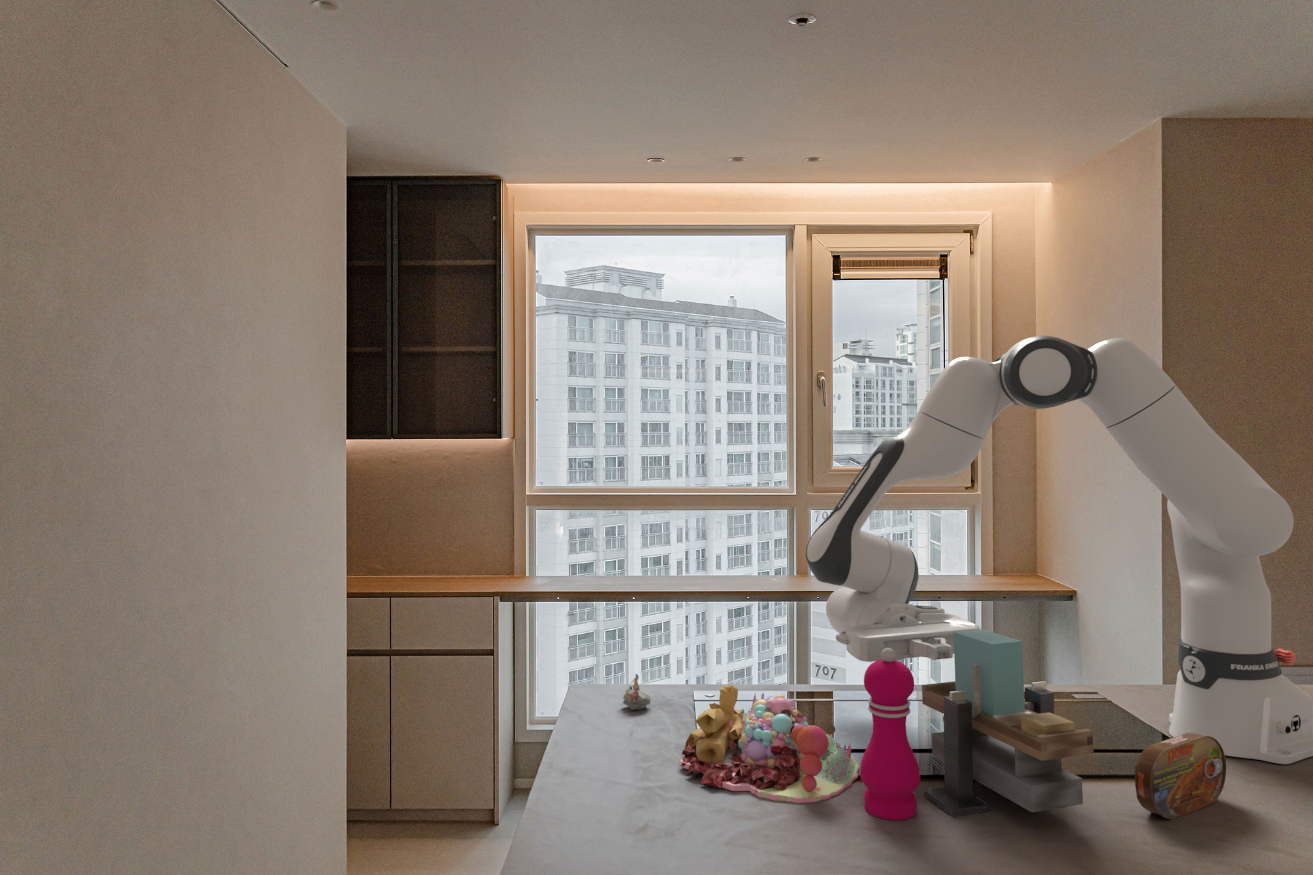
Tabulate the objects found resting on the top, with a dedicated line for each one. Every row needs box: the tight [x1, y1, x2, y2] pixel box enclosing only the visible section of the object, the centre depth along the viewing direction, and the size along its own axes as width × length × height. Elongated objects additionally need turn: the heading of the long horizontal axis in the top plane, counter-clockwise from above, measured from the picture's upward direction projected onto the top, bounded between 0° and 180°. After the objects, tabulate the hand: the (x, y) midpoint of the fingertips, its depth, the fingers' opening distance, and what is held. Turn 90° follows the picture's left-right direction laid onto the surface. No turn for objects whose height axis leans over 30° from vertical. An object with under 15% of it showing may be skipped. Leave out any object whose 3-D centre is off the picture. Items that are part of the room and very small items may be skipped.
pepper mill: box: [859, 648, 921, 821], centre depth 107 cm, size 7×7×20 cm
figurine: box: [622, 673, 652, 711], centre depth 146 cm, size 5×4×6 cm
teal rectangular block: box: [953, 628, 1025, 717], centre depth 112 cm, size 4×8×10 cm, turn 15°
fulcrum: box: [923, 680, 1055, 817], centre depth 110 cm, size 18×6×14 cm, turn 105°
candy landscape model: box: [679, 684, 860, 804], centre depth 122 cm, size 25×24×9 cm
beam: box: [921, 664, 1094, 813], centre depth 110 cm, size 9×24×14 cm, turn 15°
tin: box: [1134, 733, 1227, 820], centre depth 106 cm, size 15×3×8 cm, turn 117°
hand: (943, 653), depth 121 cm, fingers closed
